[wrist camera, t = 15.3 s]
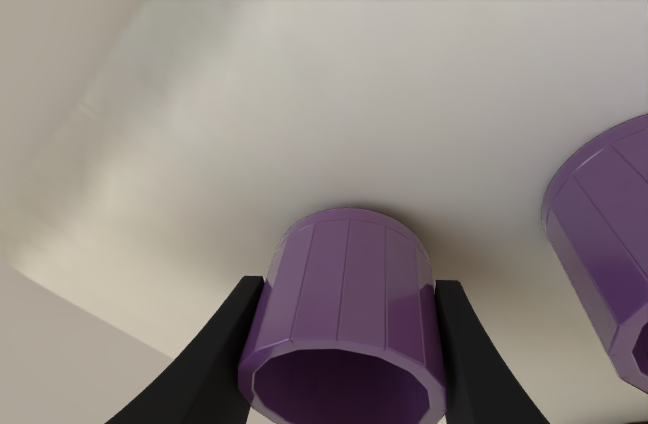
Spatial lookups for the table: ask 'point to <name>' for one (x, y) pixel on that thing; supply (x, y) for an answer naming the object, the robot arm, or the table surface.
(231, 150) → the table surface
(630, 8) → the table surface
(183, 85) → the table surface
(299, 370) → the purple faceted cup
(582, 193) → the small purple cup
